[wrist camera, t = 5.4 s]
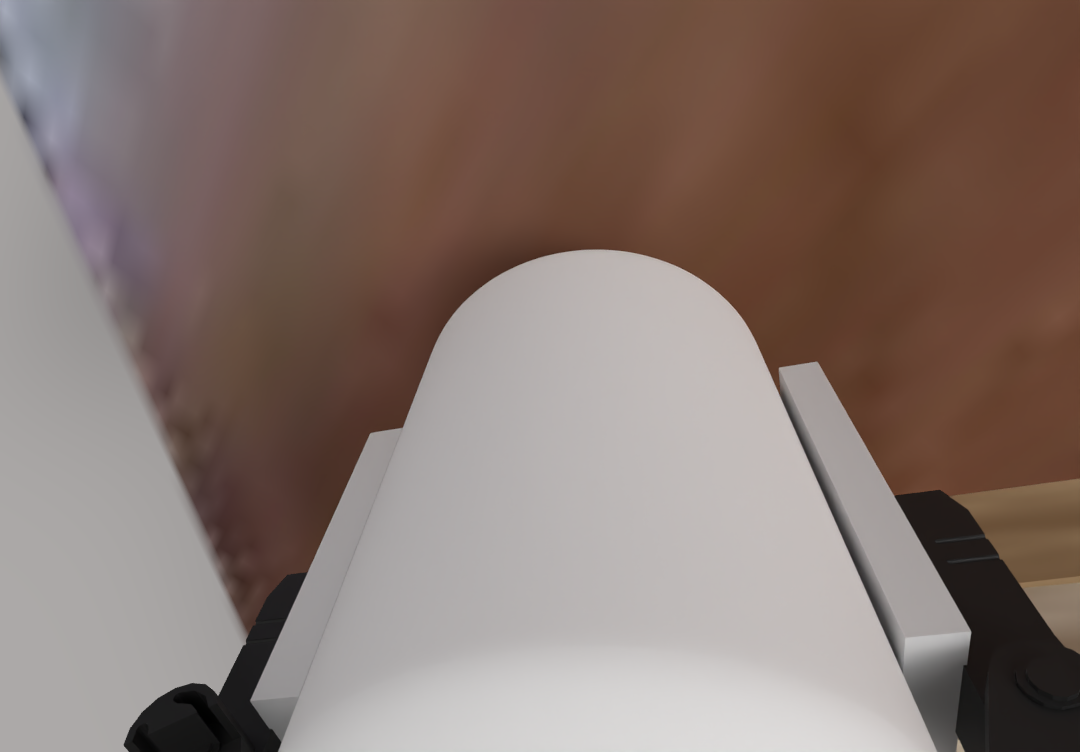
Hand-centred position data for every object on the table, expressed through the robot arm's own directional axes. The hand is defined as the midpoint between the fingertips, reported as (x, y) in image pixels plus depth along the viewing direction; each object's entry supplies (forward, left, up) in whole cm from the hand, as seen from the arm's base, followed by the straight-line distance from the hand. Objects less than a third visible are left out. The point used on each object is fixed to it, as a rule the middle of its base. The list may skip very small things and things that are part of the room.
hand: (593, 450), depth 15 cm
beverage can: (0, 0, -3) cm, 3 cm away
